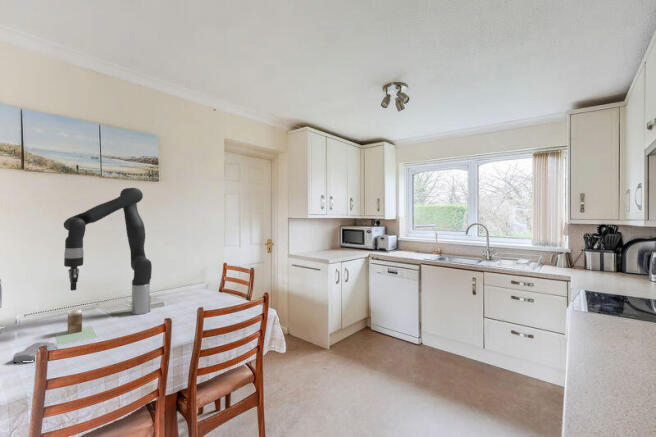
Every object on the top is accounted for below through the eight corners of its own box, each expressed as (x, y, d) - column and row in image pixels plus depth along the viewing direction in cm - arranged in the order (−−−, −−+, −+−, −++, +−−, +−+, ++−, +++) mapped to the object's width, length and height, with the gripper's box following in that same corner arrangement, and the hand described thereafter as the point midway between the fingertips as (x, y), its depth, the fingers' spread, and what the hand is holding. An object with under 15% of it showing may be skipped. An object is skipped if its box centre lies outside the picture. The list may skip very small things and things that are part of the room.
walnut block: (80, 328, 153) (80, 309, 153) (81, 331, 149) (82, 311, 149) (67, 331, 149) (67, 311, 149) (68, 334, 146) (68, 314, 146)
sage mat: (91, 327, 157) (91, 325, 157) (97, 338, 145) (97, 336, 144) (55, 334, 147) (55, 332, 147) (58, 346, 134) (58, 345, 134)
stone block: (59, 353, 132) (35, 349, 131) (62, 343, 132) (38, 339, 131) (36, 368, 121) (9, 364, 120) (38, 357, 120) (11, 352, 119)
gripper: (85, 257, 152) (84, 291, 153) (81, 254, 161) (81, 286, 162) (65, 258, 147) (65, 294, 147) (63, 255, 156) (62, 288, 156)
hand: (73, 290), depth 154 cm, fingers closed
